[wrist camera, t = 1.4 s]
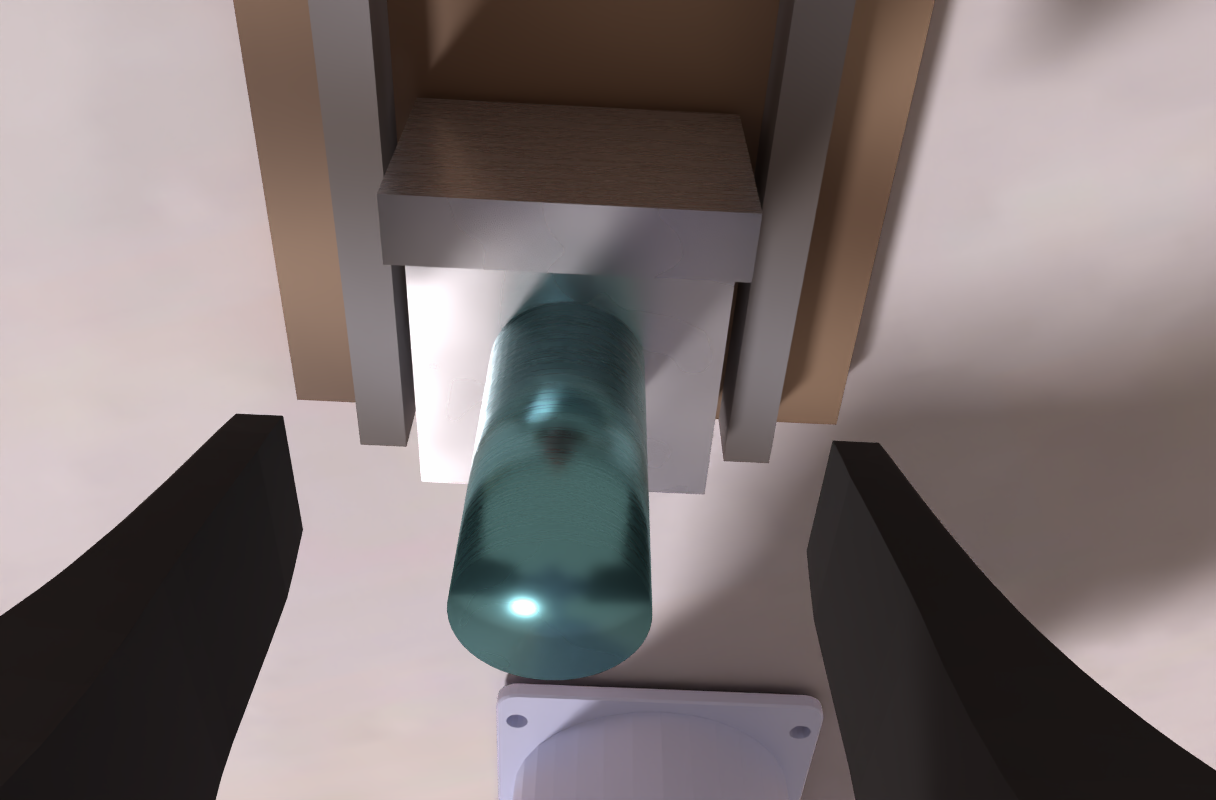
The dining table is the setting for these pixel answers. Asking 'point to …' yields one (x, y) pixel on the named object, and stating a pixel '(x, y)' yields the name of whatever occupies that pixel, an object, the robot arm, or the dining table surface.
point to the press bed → (592, 77)
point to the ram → (565, 351)
